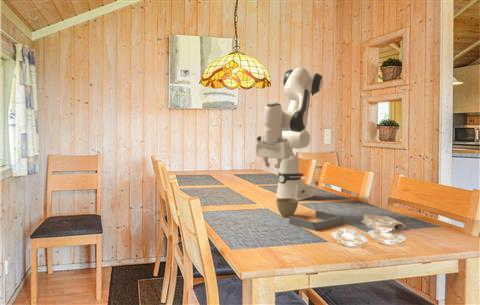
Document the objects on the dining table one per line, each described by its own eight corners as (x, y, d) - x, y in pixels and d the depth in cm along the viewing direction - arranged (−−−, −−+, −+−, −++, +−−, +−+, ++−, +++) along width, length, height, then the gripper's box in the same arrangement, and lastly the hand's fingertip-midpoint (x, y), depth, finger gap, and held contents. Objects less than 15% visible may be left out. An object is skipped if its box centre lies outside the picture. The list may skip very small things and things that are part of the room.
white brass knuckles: (409, 232, 150) (373, 233, 149) (387, 221, 168) (354, 222, 167) (409, 224, 150) (373, 225, 149) (387, 213, 168) (355, 214, 166)
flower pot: (272, 214, 178) (272, 198, 177) (290, 212, 182) (291, 197, 181) (282, 219, 169) (283, 203, 168) (302, 217, 172) (302, 201, 172)
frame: (317, 217, 173) (317, 210, 173) (343, 223, 162) (343, 216, 162) (289, 223, 162) (289, 216, 161) (315, 230, 151) (315, 223, 151)
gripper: (293, 138, 174) (293, 169, 175) (263, 137, 190) (262, 165, 191) (283, 139, 170) (283, 170, 171) (253, 137, 186) (253, 166, 187)
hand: (272, 167), depth 181 cm, fingers open, 5 cm apart
